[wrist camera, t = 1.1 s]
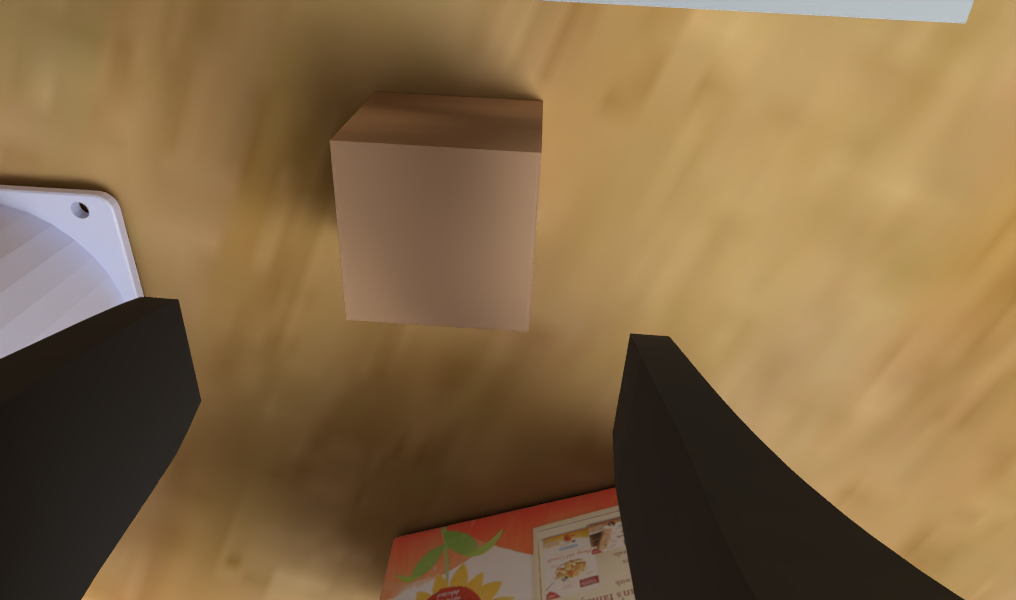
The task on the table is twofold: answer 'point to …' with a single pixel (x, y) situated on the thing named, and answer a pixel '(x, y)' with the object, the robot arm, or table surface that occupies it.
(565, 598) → the cracker box
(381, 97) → the walnut block
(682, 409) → the robot arm
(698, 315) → the table surface
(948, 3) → the plinth
